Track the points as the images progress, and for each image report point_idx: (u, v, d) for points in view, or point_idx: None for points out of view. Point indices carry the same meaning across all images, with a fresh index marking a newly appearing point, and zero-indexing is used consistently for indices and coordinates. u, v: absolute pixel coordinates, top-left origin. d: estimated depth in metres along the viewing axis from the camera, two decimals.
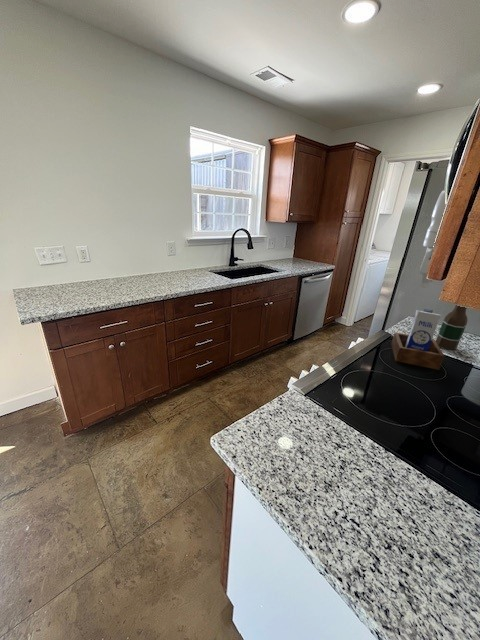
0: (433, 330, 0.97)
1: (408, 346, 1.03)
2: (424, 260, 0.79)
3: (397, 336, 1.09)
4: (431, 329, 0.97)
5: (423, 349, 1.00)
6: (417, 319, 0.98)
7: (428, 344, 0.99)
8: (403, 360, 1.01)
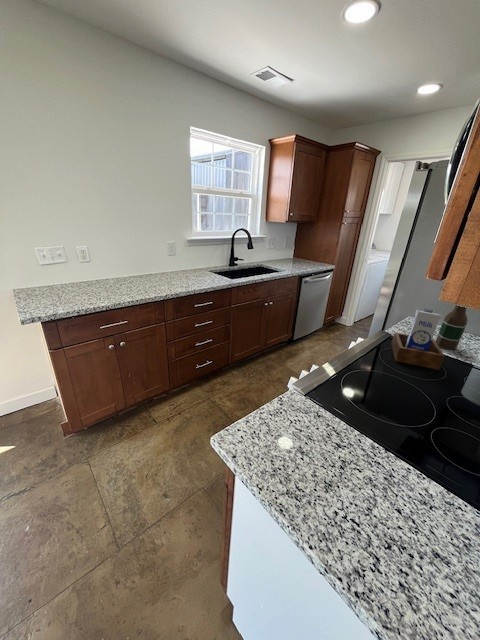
0: (433, 330, 0.97)
1: (408, 346, 1.03)
2: None
3: (397, 336, 1.09)
4: (431, 329, 0.97)
5: (423, 349, 1.00)
6: (417, 319, 0.98)
7: (428, 344, 0.99)
8: (403, 360, 1.01)
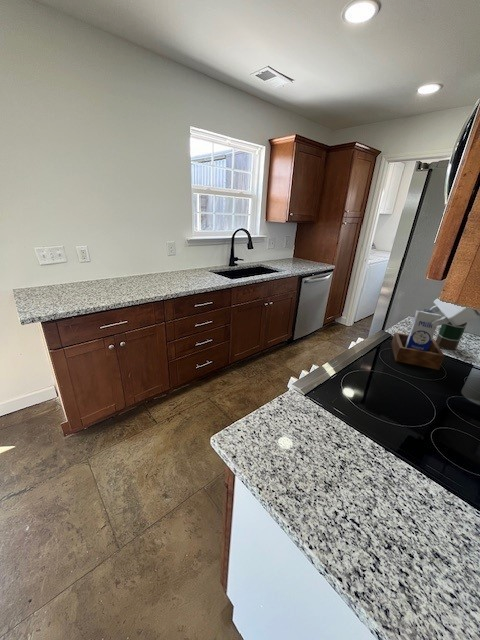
0: (433, 330, 0.97)
1: (408, 346, 1.03)
2: None
3: (397, 336, 1.09)
4: (431, 329, 0.97)
5: (423, 349, 1.00)
6: (417, 319, 0.98)
7: (428, 344, 0.99)
8: (403, 360, 1.01)
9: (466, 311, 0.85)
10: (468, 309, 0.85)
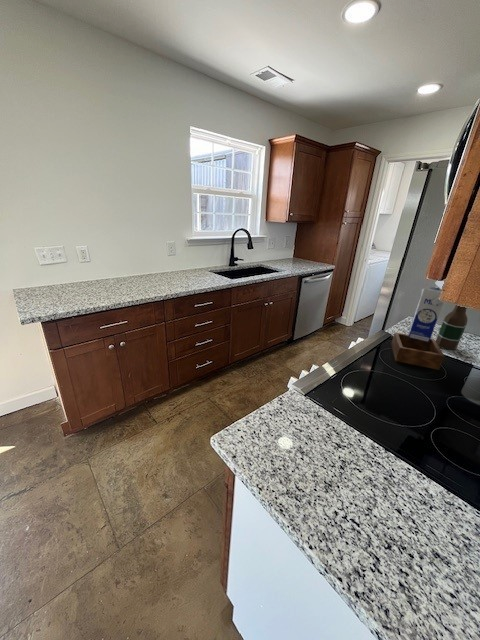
0: (439, 308, 0.95)
1: (413, 325, 1.01)
2: None
3: (397, 336, 1.09)
4: (437, 307, 0.95)
5: (429, 328, 0.98)
6: (423, 297, 0.96)
7: (434, 323, 0.97)
8: (403, 360, 1.01)
9: None
10: None
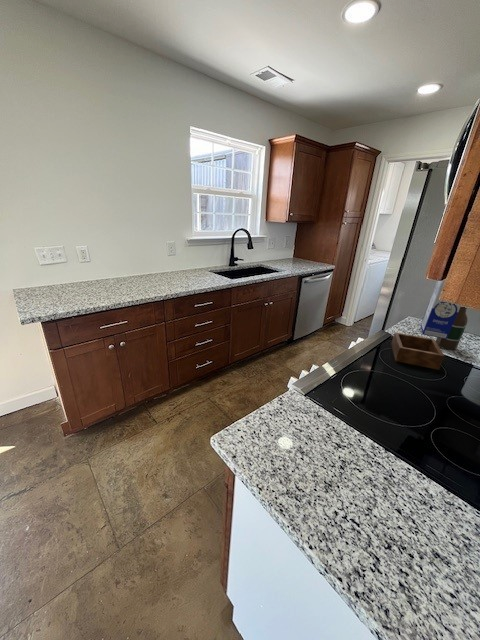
0: None
1: (429, 321, 0.86)
2: None
3: (397, 336, 1.09)
4: None
5: (447, 323, 0.84)
6: (441, 288, 0.81)
7: (453, 317, 0.83)
8: (403, 360, 1.01)
9: None
10: None
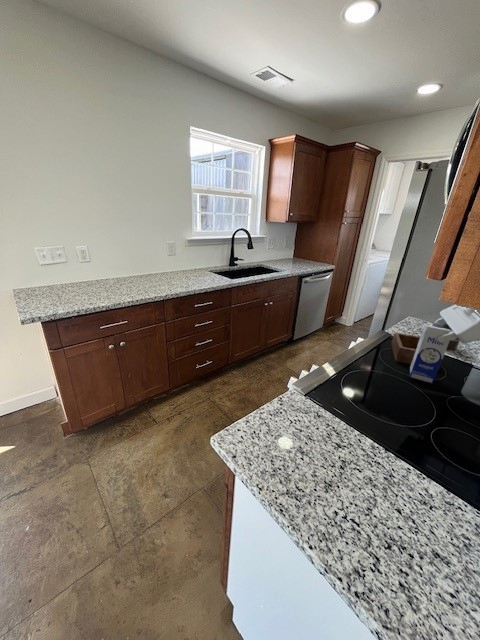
0: (444, 348, 0.84)
1: (415, 365, 0.91)
2: None
3: (397, 336, 1.09)
4: (442, 346, 0.85)
5: (432, 369, 0.88)
6: (426, 335, 0.86)
7: (438, 363, 0.87)
8: (403, 360, 1.01)
9: (477, 327, 0.75)
10: (479, 325, 0.74)
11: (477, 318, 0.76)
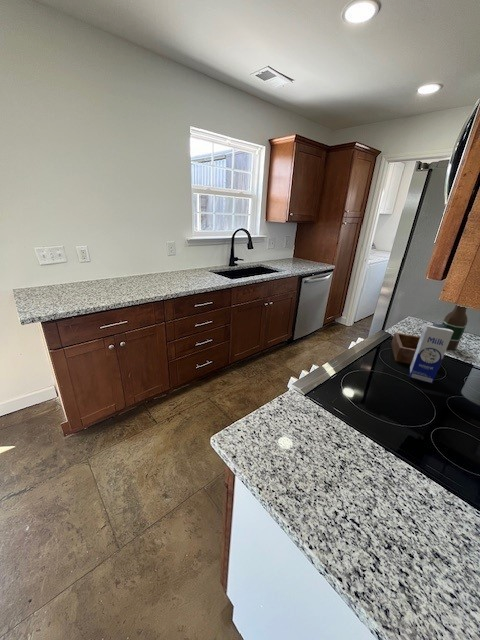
0: (444, 348, 0.84)
1: (415, 365, 0.91)
2: None
3: (397, 336, 1.09)
4: (442, 346, 0.85)
5: (432, 369, 0.88)
6: (426, 335, 0.86)
7: (438, 363, 0.87)
8: (403, 360, 1.01)
9: None
10: None
11: None
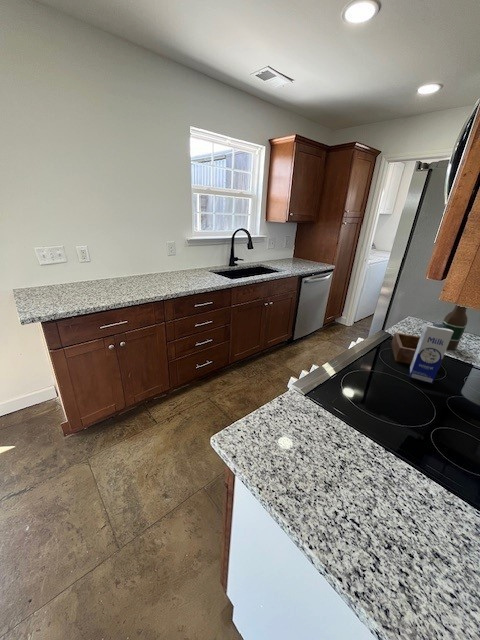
0: (444, 348, 0.84)
1: (415, 365, 0.91)
2: None
3: (397, 336, 1.09)
4: (442, 346, 0.85)
5: (432, 369, 0.88)
6: (426, 335, 0.86)
7: (438, 363, 0.87)
8: (403, 360, 1.01)
9: None
10: None
11: None
